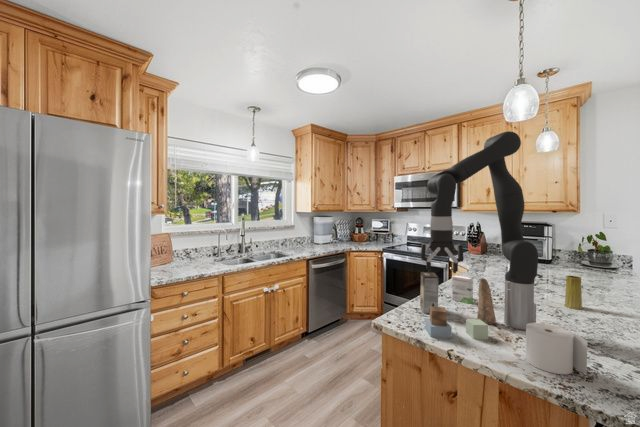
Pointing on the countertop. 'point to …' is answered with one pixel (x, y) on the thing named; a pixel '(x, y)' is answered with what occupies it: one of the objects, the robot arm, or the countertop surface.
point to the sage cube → (476, 329)
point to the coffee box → (428, 291)
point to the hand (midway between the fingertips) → (441, 272)
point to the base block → (438, 330)
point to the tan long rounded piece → (485, 303)
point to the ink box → (462, 289)
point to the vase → (573, 292)
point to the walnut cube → (438, 316)
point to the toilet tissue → (555, 349)
